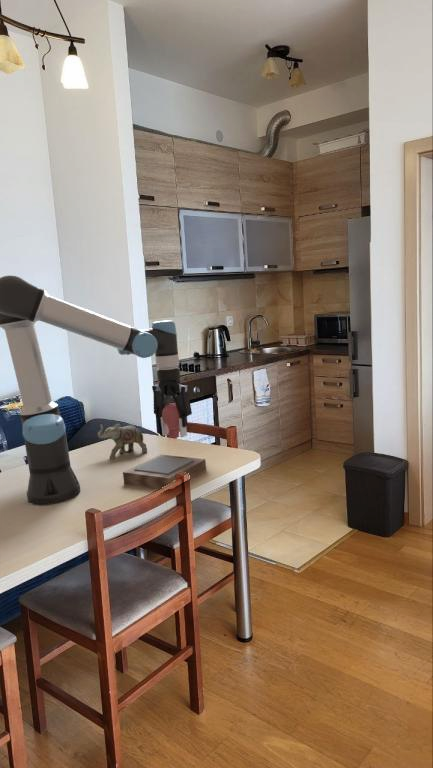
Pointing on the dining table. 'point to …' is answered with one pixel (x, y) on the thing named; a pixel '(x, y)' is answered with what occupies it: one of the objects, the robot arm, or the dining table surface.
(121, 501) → the dining table surface
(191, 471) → the stand
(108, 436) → the figurine
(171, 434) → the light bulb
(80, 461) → the dining table surface
